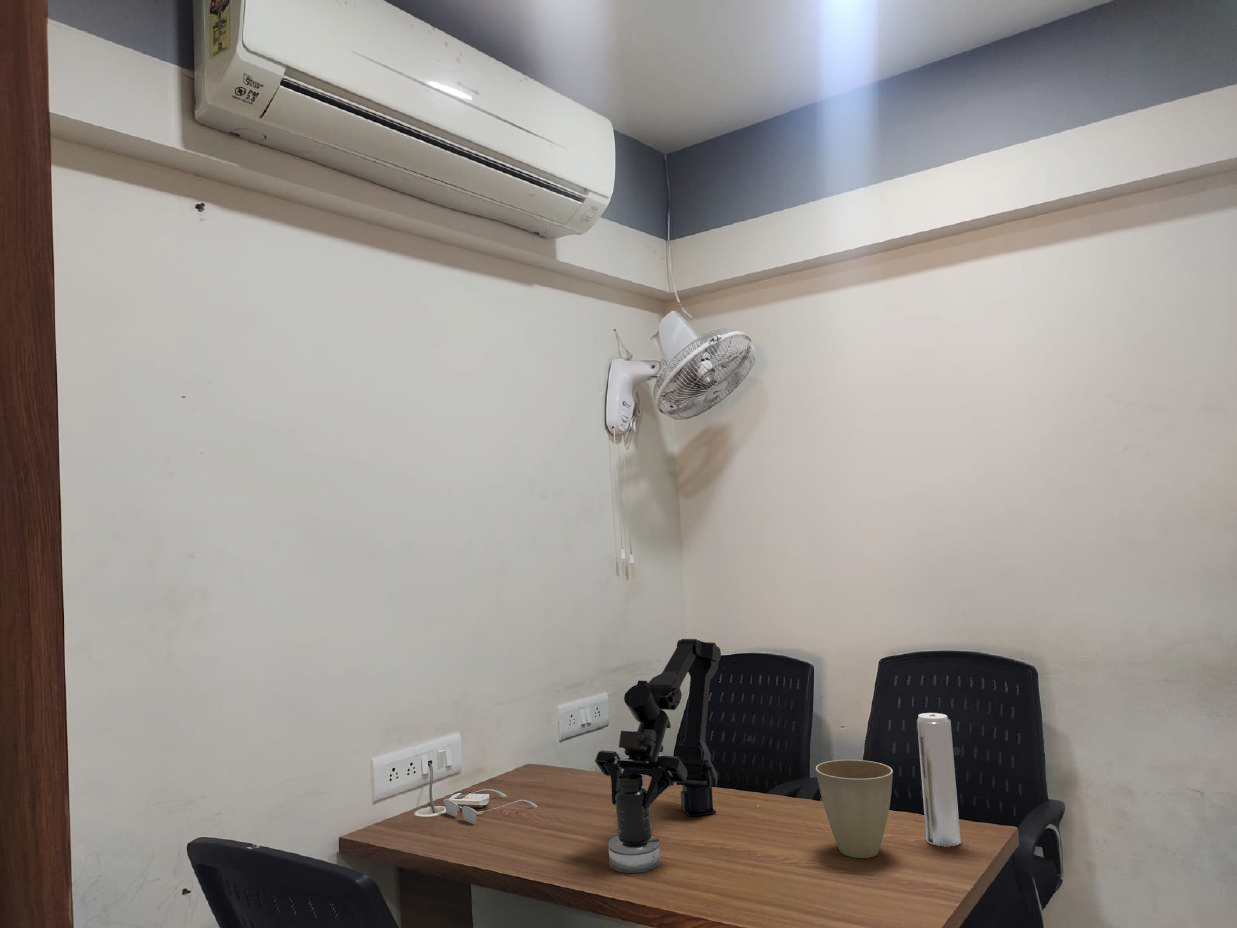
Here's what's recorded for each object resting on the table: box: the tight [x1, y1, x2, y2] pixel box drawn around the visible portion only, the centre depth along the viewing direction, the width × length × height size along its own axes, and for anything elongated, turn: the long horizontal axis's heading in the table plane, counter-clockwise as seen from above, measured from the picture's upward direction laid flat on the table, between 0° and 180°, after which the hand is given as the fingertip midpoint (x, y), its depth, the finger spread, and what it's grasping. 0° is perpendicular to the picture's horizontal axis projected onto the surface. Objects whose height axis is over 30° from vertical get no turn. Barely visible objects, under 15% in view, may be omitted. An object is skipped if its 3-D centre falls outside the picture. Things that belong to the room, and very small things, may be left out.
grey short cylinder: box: [607, 834, 661, 874], centre depth 164 cm, size 10×10×4 cm
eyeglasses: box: [443, 788, 538, 825], centre depth 202 cm, size 15×18×4 cm
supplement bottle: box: [615, 772, 653, 844], centre depth 164 cm, size 7×7×12 cm
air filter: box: [916, 712, 962, 848], centre depth 168 cm, size 6×6×25 cm
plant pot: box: [815, 759, 894, 859], centre depth 165 cm, size 15×15×16 cm
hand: (629, 805), depth 163 cm, fingers closed on supplement bottle, 7 cm apart
